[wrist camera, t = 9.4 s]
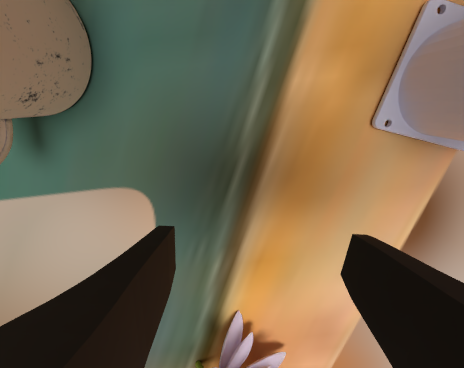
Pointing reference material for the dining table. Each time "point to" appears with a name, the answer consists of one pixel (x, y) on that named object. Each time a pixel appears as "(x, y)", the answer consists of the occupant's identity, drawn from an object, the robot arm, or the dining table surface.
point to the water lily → (242, 349)
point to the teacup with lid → (39, 61)
